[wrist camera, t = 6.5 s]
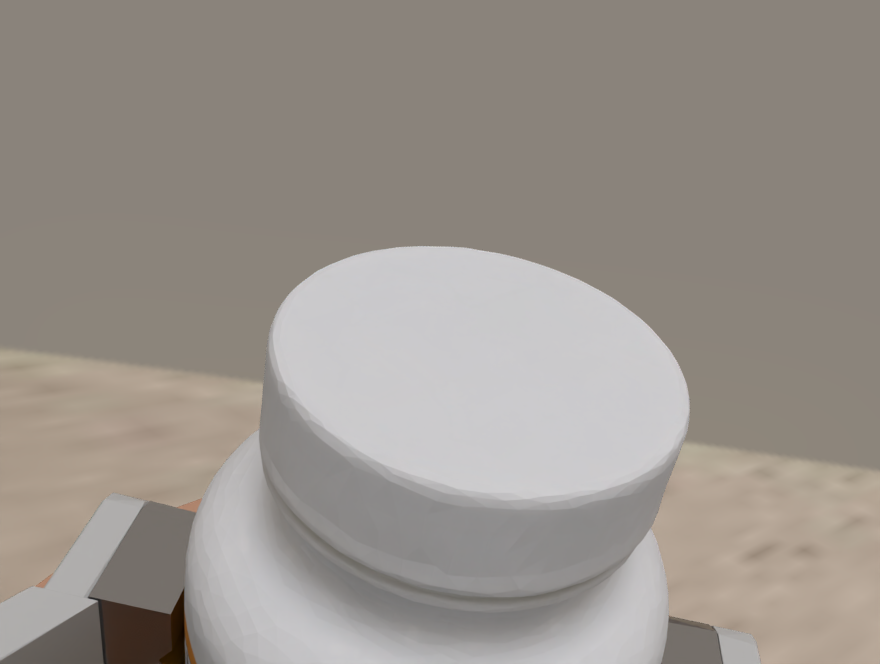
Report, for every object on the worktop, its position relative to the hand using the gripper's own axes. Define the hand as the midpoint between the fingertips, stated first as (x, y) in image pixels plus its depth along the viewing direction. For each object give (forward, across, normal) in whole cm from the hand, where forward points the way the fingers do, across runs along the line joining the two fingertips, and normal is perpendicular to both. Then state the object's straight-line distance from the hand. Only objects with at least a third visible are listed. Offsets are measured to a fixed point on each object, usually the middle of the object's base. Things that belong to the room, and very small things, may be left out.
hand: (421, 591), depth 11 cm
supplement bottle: (-1, 0, +5) cm, 5 cm away
